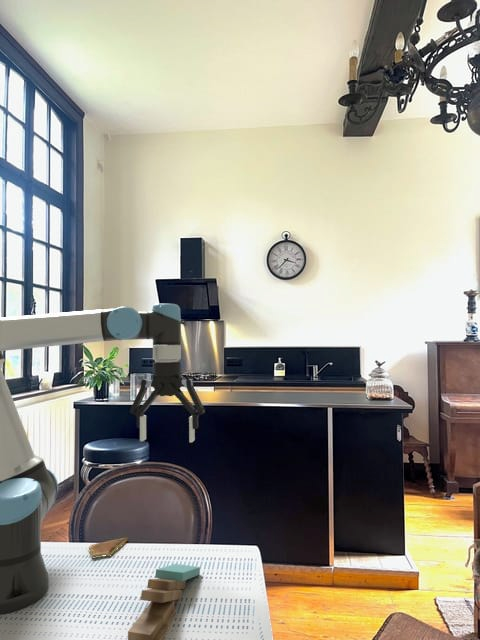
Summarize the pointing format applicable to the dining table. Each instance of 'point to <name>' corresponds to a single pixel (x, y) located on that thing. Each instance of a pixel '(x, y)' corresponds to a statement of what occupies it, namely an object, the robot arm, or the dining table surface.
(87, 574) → the dining table surface
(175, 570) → the domino
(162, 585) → the domino
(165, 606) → the domino
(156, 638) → the domino
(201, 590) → the dining table surface
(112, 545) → the shard
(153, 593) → the domino
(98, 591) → the dining table surface
